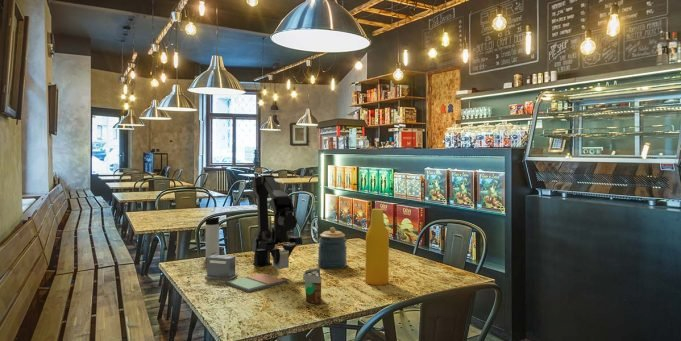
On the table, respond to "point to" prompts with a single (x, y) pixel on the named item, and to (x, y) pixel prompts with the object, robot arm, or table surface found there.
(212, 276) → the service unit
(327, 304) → the table surface
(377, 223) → the beer bottle
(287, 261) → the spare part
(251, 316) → the table surface
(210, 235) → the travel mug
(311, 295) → the food container
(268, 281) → the sorting board
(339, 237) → the canister
